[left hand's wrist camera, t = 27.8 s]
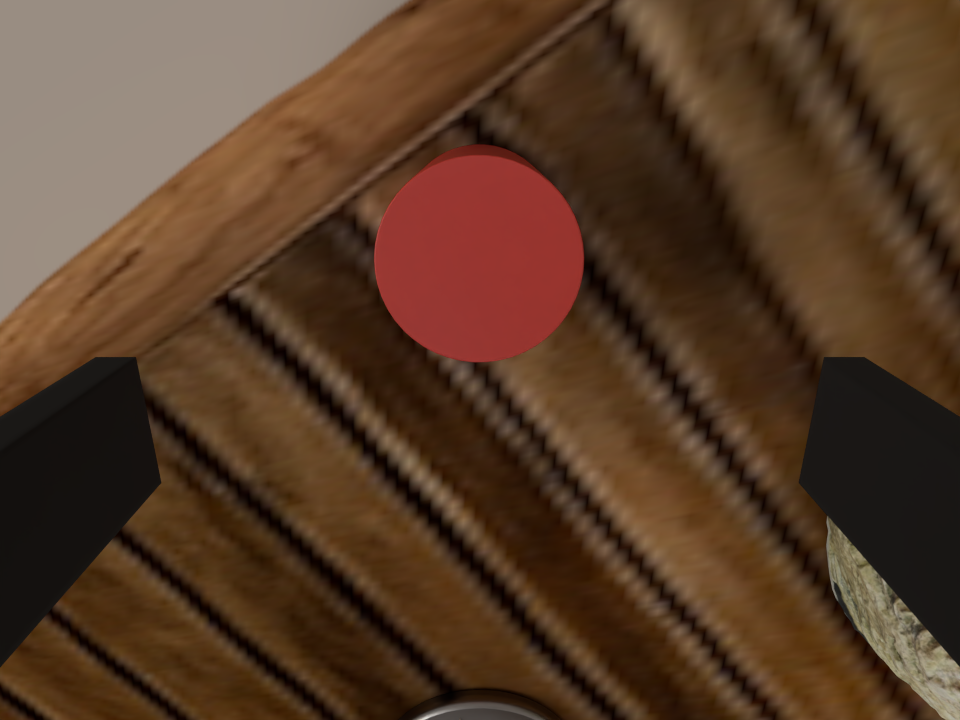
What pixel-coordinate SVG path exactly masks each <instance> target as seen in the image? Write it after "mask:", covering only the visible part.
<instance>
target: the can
mask: <svg viewBox="0 0 960 720" xmlns="http://www.w3.org/2000/svg"><path fill="white" fill-rule="evenodd" d="M374 262H375V274H376V279H377V284H378V287H379V290H380V293H381V296H382V299H383V301H384V303H385V305H386V307H387V309H388V310H389V312H390V313H391V315H392V317H393V318H394V320H395V321H396V322H397V323H398V324H399V326H400V327H401V328H402V329H403V330H404V331H405V332H406V333H407V334H408V335H409V336H410V337H411V338H413V339H414V340H415V341H417V342H418V343H419V344H421V345H422V346H424V347H426V348H427V349H429V350H431V351H433V352H435V353H437V354H440V355H443V356H445V357H448V358H452V359H456V360H460V361H468V362H490V361H498V360H502V359H506V358H510V357H513V356H516V355H518V354H521V353H524V352H525V351H527V350H529V349H531V348H533V347H535V346H536V345H538V344H539V343H540V342H542V341H543V340H545V339H546V338H547V337H548V336H549V335H550V334H551V333H553V332H554V331H555V330H556V329H557V327H558V326H559V325H560V324H561V323H562V321H563V320H564V319H565V317H566V316H567V314H568V313H569V311H570V310H571V308H572V306H573V304H574V302H575V299H576V297H577V295H578V292H579V288H580V285H581V281H582V276H583V270H584V248H583V241H582V236H581V231H580V228H579V225H578V222H577V220H576V217H575V215H574V213H573V211H572V209H571V207H570V205H569V204H568V202H567V201H566V200H565V198H564V197H563V195H562V194H561V193H560V192H559V190H558V189H557V188H556V187H555V186H554V185H553V184H552V183H551V182H550V181H549V180H548V179H547V178H546V177H544V176H543V175H542V174H541V173H540V172H539V171H538V170H537V169H536V168H535V167H534V166H532V165H531V164H530V163H529V162H528V161H526V160H525V159H524V158H522V157H521V156H519V155H517V154H516V153H514V152H511V151H509V150H507V149H504V148H501V147H497V146H492V145H467V146H462V147H458V148H455V149H452V150H450V151H447V152H445V153H443V154H441V155H440V156H438V157H437V158H435V159H434V160H432V161H431V162H430V163H429V164H428V165H426V166H425V167H424V168H423V169H422V170H421V171H420V172H419V173H417V174H416V175H415V176H414V177H413V178H412V179H411V180H410V181H409V182H407V183H406V184H405V186H404V187H403V188H402V189H401V190H400V191H399V192H398V193H397V194H396V196H395V197H394V199H393V200H392V202H391V203H390V204H389V206H388V208H387V210H386V212H385V214H384V216H383V218H382V221H381V224H380V226H379V229H378V233H377V238H376V243H375V254H374Z"/></svg>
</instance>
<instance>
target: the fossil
mask: <svg viewBox="0 0 960 720" xmlns="http://www.w3.org/2000/svg"><path fill="white" fill-rule="evenodd" d="M827 527H828V537H827V544H826V547H827V557H828V566H829V574H830V580H831V584H832V589H833V592H834V594H835V597H836V599H837V601H838V602H839V604H840V605H841V607H842V609H843V610H844V612H845V614H846V616H847V617H848V618H849V620H850V621H851V623H852V625H853V627H854V629H855V630H857V631H858V632H859V633H860V634H861V635H862V636H863V637H864V639H865V640H866V641H867V642H868V643H869V644H870V645H871V646H872V648H873V649H874V650H875V652H876V653H877V654H878V656H880V657H881V658H882V659H883V660H884V661H885V662H886V664H887V665H888V666H889V667H890V668H891V669H892V671H893V672H894V673H895V674H896V675H897V676H898V677H899V678H901V679H902V680H904V681H905V682H907V683H908V684H909V685H910V686H911V687H912V689H913V690H914V691H916V692H917V693H918V694H919V695H920V696H921V697H922V698H923V699H924V700H925V701H926V702H927V703H928V704H929V705H930V706H931V707H933V708H934V709H935V710H936V711H937V712H938V713H939V715H940V716H941V717H942V718H944V719H946V720H960V667H959V666H958V665H957V664H956V662H955V661H954V660H953V659H952V658H951V657H950V655H949V654H948V653H947V652H946V651H945V650H944V649H943V647H942V646H941V645H940V644H939V643H938V642H937V641H936V639H935V638H934V637H933V636H932V635H931V634H930V633H929V631H928V630H927V629H926V628H925V627H924V626H923V625H922V623H921V622H920V621H919V620H918V619H917V618H916V617H915V615H914V614H913V613H912V612H911V611H910V610H909V609H908V607H907V606H906V605H905V604H904V603H903V602H902V600H901V599H900V598H899V597H898V596H897V595H896V594H895V592H894V591H893V590H892V589H891V588H890V587H889V586H888V584H887V583H886V582H885V581H884V580H883V579H882V578H881V576H880V575H879V574H878V573H877V572H876V571H875V570H874V568H873V567H872V566H871V565H870V564H869V563H868V562H867V560H866V559H865V558H864V557H863V556H862V555H861V553H860V552H859V551H858V550H857V549H856V548H855V547H854V545H853V544H852V543H851V542H850V541H849V540H848V539H847V537H846V536H845V535H844V534H843V533H842V532H841V531H840V529H839V528H838V527H837V526H836V525H835V524H834V523H833V521H832V520H831V519H830V518H829V517H828V516H827Z"/></svg>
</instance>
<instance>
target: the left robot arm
mask: <svg viewBox="0 0 960 720" xmlns="http://www.w3.org/2000/svg"><path fill="white" fill-rule="evenodd" d="M160 484H161V479H160V474H159V469H158V464H157V459H156V454H155V449H154V444H153V439H152V434H151V429H150V425H149V420H148V415H147V410H146V405H145V400H144V395H143V390H142V385H141V380H140V375H139V370H138V365H137V360H136V357H95V358H94V359H92V360H90V361H89V362H87V363H86V364H84V365H82V366H81V367H79V368H78V369H76V370H74V371H73V372H71V373H70V374H68V375H66V376H65V377H63V378H62V379H60V380H58V381H57V382H55V383H54V384H52V385H50V386H49V387H47V388H46V389H44V390H42V391H41V392H39V393H38V394H36V395H34V396H33V397H31V398H30V399H28V400H26V401H25V402H23V403H22V404H20V405H18V406H17V407H15V408H14V409H12V410H10V411H9V412H7V413H6V414H4V415H2V416H1V417H0V667H1V666H2V665H3V664H4V662H5V661H6V660H7V659H8V658H9V657H10V655H11V654H12V653H13V652H14V651H15V650H16V649H17V647H18V646H19V645H20V644H21V643H22V642H23V641H24V639H25V638H26V637H27V636H28V635H29V634H30V633H31V631H32V630H33V629H34V628H35V627H36V626H37V625H38V623H39V622H40V621H41V620H42V619H43V618H44V617H45V615H46V614H47V613H48V612H49V611H50V610H51V609H52V607H53V606H54V605H55V604H56V603H57V602H58V600H59V599H60V598H61V597H62V596H63V595H64V594H65V592H66V591H67V590H68V589H69V588H70V587H71V586H72V584H73V583H74V582H75V581H76V580H77V579H78V578H79V576H80V575H81V574H82V573H83V572H84V571H85V570H86V568H87V567H88V566H89V565H90V564H91V563H92V562H93V560H94V559H95V558H96V557H97V556H98V555H99V553H100V552H101V551H102V550H103V549H104V548H105V547H106V545H107V544H108V543H109V542H110V541H111V540H112V539H113V537H114V536H115V535H116V534H117V533H118V532H119V531H120V529H121V528H122V527H123V526H124V525H125V524H126V523H127V521H128V520H129V519H130V518H131V517H132V516H133V515H134V513H135V512H136V511H137V510H138V509H139V508H140V506H141V505H142V504H143V503H144V502H145V501H146V500H147V498H148V497H149V496H150V495H151V494H152V493H153V492H154V490H155V489H156V488H157V487H158V486H159V485H160ZM799 484H800V485H801V486H802V487H803V488H804V489H805V490H806V492H807V493H808V494H809V495H810V496H811V497H812V498H813V500H814V501H815V502H816V503H817V504H818V505H819V506H820V508H821V509H822V510H823V511H824V512H825V513H826V515H827V516H828V517H829V518H830V519H831V520H832V521H833V523H834V524H835V525H836V526H837V527H838V528H839V529H840V531H841V532H842V533H843V534H844V535H845V536H846V537H847V539H848V540H849V541H850V542H851V543H852V544H853V545H854V547H855V548H856V549H857V550H858V551H859V552H860V553H861V555H862V556H863V557H864V558H865V559H866V560H867V562H868V563H869V564H870V565H871V566H872V567H873V568H874V570H875V571H876V572H877V573H878V574H879V575H880V576H881V578H882V579H883V580H884V581H885V582H886V583H887V584H888V586H889V587H890V588H891V589H892V590H893V591H894V592H895V594H896V595H897V596H898V597H899V598H900V599H901V600H902V602H903V603H904V604H905V605H906V606H907V607H908V609H909V610H910V611H911V612H912V613H913V614H914V615H915V617H916V618H917V619H918V620H919V621H920V622H921V623H922V625H923V626H924V627H925V628H926V629H927V630H928V631H929V633H930V634H931V635H932V636H933V637H934V638H935V639H936V641H937V642H938V643H939V644H940V645H941V646H942V647H943V649H944V650H945V651H946V652H947V653H948V654H949V655H950V657H951V658H952V659H953V660H954V661H955V662H956V664H957V665H958V666H959V667H960V417H959V416H958V415H956V414H954V413H953V412H951V411H950V410H948V409H946V408H945V407H943V406H942V405H940V404H938V403H937V402H935V401H934V400H932V399H930V398H929V397H927V396H926V395H924V394H922V393H921V392H919V391H918V390H916V389H914V388H913V387H911V386H910V385H908V384H906V383H905V382H903V381H902V380H900V379H898V378H897V377H895V376H894V375H892V374H890V373H889V372H887V371H886V370H884V369H882V368H881V367H879V366H878V365H876V364H874V363H873V362H871V361H870V360H868V359H866V358H865V357H824V360H823V365H822V370H821V375H820V380H819V385H818V390H817V395H816V400H815V405H814V410H813V415H812V420H811V425H810V429H809V434H808V439H807V444H806V449H805V454H804V459H803V464H802V469H801V474H800V479H799ZM399 720H561V719H560V718H559V717H557V716H556V715H555V714H554V713H553V712H551V711H550V710H548V709H547V708H545V707H544V706H542V705H540V704H538V703H536V702H534V701H532V700H530V699H527V698H525V697H522V696H519V695H515V694H511V693H507V692H501V691H493V690H466V691H458V692H453V693H448V694H444V695H441V696H437V697H435V698H432V699H429V700H427V701H425V702H423V703H421V704H419V705H417V706H416V707H414V708H412V709H411V710H410V711H408V712H407V713H405V714H404V715H403V716H402V717H401V718H400V719H399Z"/></svg>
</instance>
